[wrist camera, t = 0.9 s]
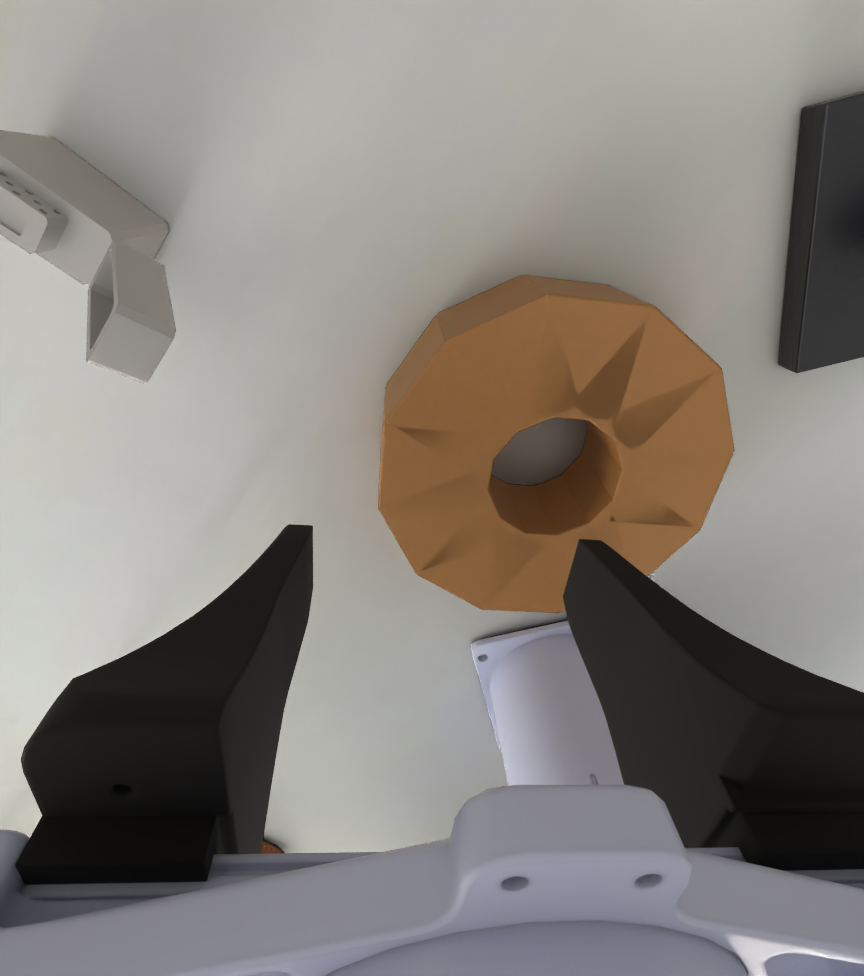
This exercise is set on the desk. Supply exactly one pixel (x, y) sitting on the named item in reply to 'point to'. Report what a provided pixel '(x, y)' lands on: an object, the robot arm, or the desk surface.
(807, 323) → the stand
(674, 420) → the tape roll
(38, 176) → the lighter
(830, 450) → the desk surface
